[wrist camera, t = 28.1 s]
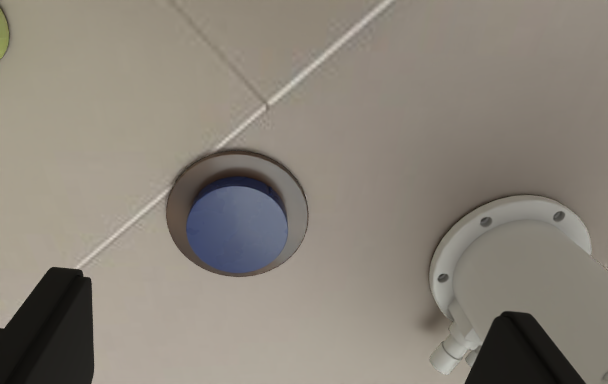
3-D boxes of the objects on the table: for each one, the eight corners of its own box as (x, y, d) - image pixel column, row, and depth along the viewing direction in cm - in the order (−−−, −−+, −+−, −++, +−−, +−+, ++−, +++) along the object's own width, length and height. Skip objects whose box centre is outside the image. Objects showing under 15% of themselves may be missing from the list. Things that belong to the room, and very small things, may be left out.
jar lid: (231, 155, 29) (230, 164, 28) (307, 214, 32) (309, 225, 30) (170, 225, 31) (165, 237, 30) (245, 275, 34) (244, 289, 32)
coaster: (271, 289, 35) (271, 294, 35) (148, 244, 33) (145, 248, 32) (332, 185, 32) (333, 189, 31) (199, 126, 29) (198, 128, 28)
